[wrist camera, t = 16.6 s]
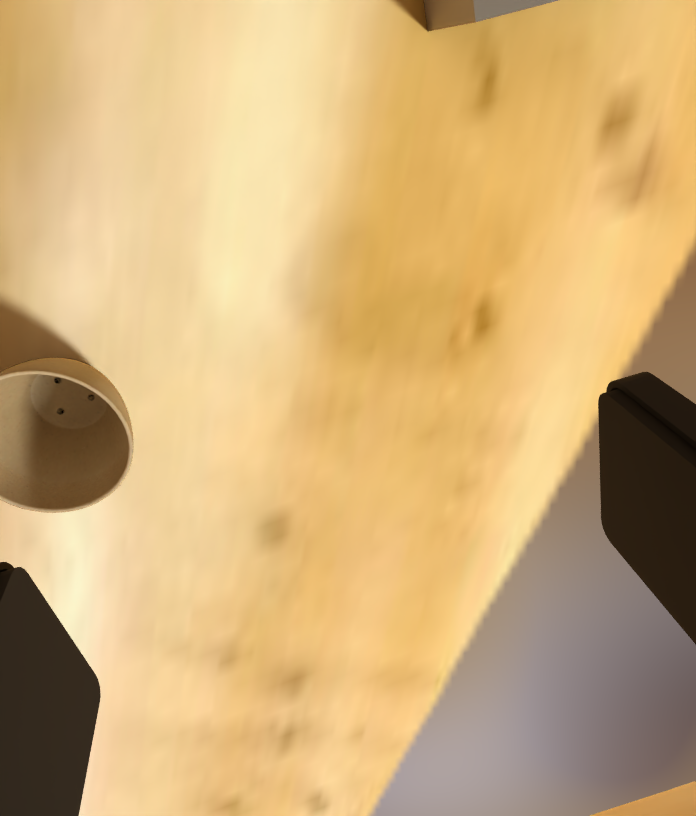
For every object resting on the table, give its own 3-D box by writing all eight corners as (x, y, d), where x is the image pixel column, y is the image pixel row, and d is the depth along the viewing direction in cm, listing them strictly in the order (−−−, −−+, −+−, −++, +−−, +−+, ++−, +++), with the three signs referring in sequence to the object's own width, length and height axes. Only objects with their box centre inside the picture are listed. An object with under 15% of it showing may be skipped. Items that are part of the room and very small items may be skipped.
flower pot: (69, 297, 41) (43, 338, 35) (173, 402, 46) (167, 455, 40) (-43, 384, 42) (-88, 437, 36) (70, 477, 47) (47, 539, 41)
